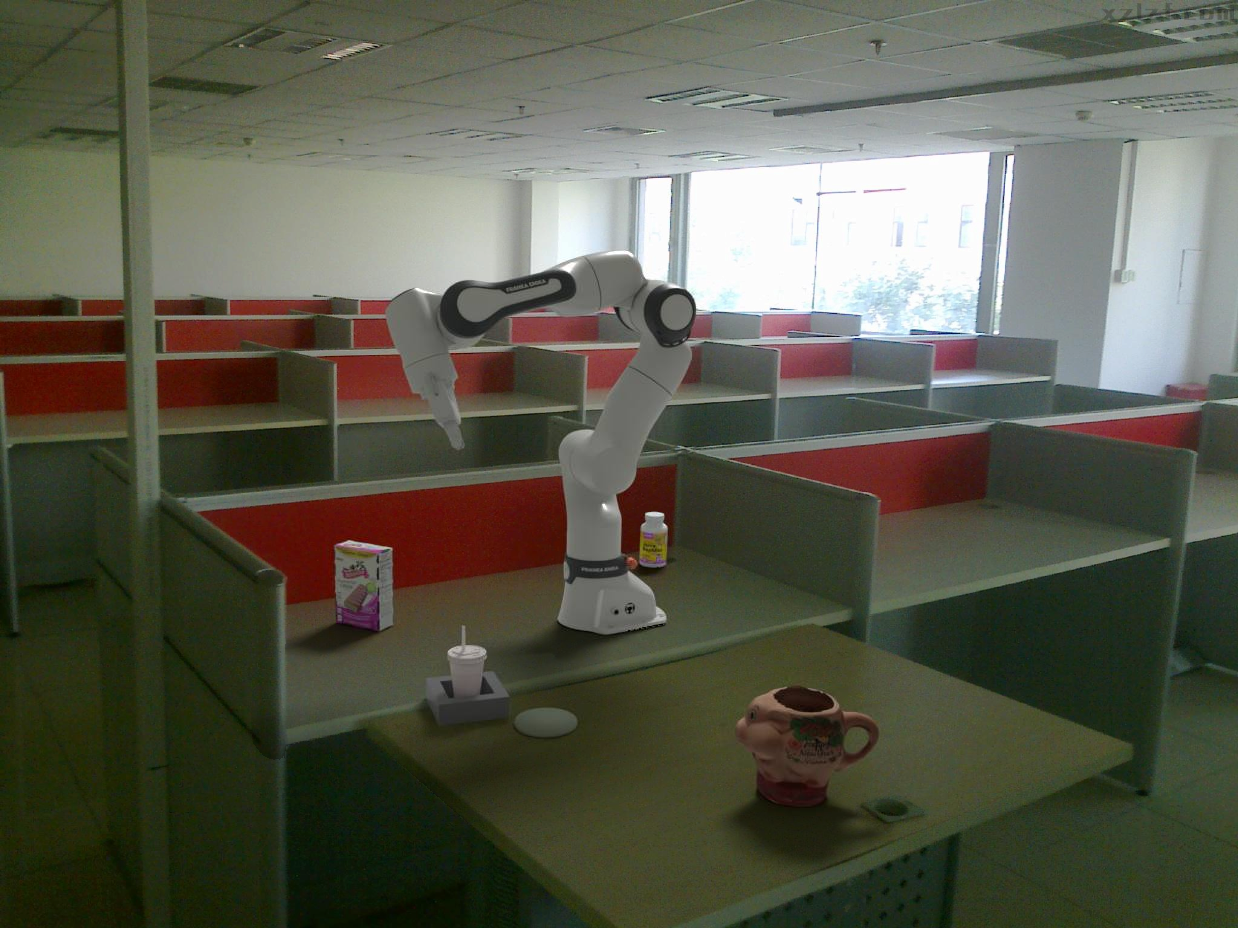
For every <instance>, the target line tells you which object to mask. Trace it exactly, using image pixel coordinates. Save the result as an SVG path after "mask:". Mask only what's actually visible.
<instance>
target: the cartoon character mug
mask: <svg viewBox="0 0 1238 928" xmlns="http://www.w3.org/2000/svg"><path fill="white" fill-rule="evenodd" d="M853 728H860V729H861V728H862V729H864V730H865V732H866V733H867V735H868V741H867V743H866V744H865V745H864V746H863V747H862V748H860V750H859V751H857V752H854V753H852V752H848V751H847V750H846V748H845V739H846V735H847V733H848V732H849V731H850V730H851V729H853ZM734 736H735V739H736V741H737V742H738V743H739V744H740V745H741V746H743V747H744V748H745V749H746V750H748V751H749V752H750V753H751V754H752V757H753V759H754V761H755V763H756V766H757V767H756V780H755V781H756V782H755V783H756V787H757V790H758V791H759V793H760V794H761V795H762V796H763V797H765V798H766V799H767V800H770V801H771V802H773V803H775V804H779V805H783V806H784V805H785V806H790V807H797V808H798V807H812V806H815V805H818V804H821V803H822V802H823V801H824V799H825V798H826V796H827V793H828V786H829V781H830V775H831V774H832V772H833V771H835V772H837V773H840V772H842V771H844V770H846V769H848V768H851V767H852V766H854V765H856V764H857V763H859V762H860V761H861V760H864V758H865V757H866V756H867V755H868V754H869V753H870V752H871V751H872V750H873V749H874V747H875V746H876V745H877V744H878V741H879V737H880V730H879V727H878V726H877V723H876V721H874V719H873V718H872V717H870V716H869V715H867V714H865V713H860V712H856V711H844V710H843V709H841V705H840V703H839V702H838V701H837V699H836V698H834V697H833V696H832V695H830V694H828V693H826V692H824V691H821V690H819V689H814V688H810V687H804V686H803V685H791V686H790V685H789V686H785V687H780V688H774V689H772V690H770V691H768V692H767V693H764V694H760V695H759V696H756V697H754V698H753V699H752V701H751V702H750V703H749V705H748V706H747V708H746V712H745V715H744V716H743V717H742V718H741V719H739V720H738V721H737V723H736V724H735V727H734Z"/></svg>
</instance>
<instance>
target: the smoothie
mask: <svg viewBox="0 0 1238 928" xmlns="http://www.w3.org/2000/svg"><path fill="white" fill-rule="evenodd" d="M487 658H488V656H487V650H486V649H485V647H481V646H479V645H473V644H468V645H467V644H466V626H465V625H461V645H458V646H457V645H456V646H454V647H452V648H450V649H449V650H448V651H447V660H448V661H449V667H450V676H452V684H453V691H454V698H458V697H467V696H476V695H480V690H481V682H482V674H483V672H484V666H485V660H487Z"/></svg>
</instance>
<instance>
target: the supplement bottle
mask: <svg viewBox="0 0 1238 928" xmlns="http://www.w3.org/2000/svg"><path fill="white" fill-rule="evenodd" d="M644 520H645V522H644V523H642V524H641V526H640V535H639V537H640V538H639V540H640V541H639V559H638V560H639V564H640V565H641V566H642V567H646V568H654V569H655V568H656V569H657V567H658V568H662V567H665V566H666V564H667V552H668V551H667V550H668V525H666V524H665V523H664V520H665V514H664V513H663V512H658V511H651V512H650V511H649V512H645V514H644Z"/></svg>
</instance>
